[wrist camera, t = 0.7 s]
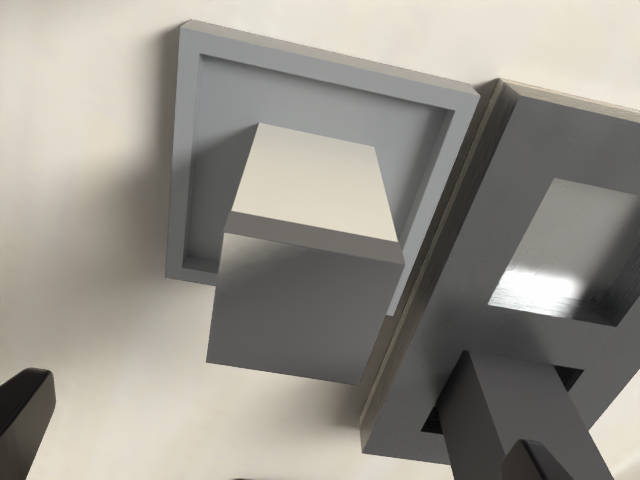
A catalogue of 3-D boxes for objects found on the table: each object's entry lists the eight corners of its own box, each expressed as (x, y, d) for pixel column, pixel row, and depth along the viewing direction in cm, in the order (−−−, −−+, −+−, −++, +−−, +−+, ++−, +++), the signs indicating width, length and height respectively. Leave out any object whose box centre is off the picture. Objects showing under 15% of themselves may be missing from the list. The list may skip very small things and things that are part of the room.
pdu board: (534, 443, 27) (548, 478, 25) (359, 418, 25) (361, 453, 24) (762, 139, 17) (810, 162, 15) (499, 77, 16) (520, 95, 14)
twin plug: (510, 409, 24) (571, 564, 18) (432, 398, 24) (470, 553, 18) (547, 352, 22) (631, 507, 16) (464, 338, 22) (518, 492, 16)
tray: (388, 294, 21) (393, 316, 20) (174, 257, 20) (165, 277, 19) (469, 84, 16) (480, 95, 15) (190, 19, 15) (179, 27, 14)
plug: (346, 242, 19) (358, 385, 13) (242, 223, 18) (205, 362, 12) (375, 146, 17) (405, 264, 11) (258, 121, 16) (223, 231, 10)
